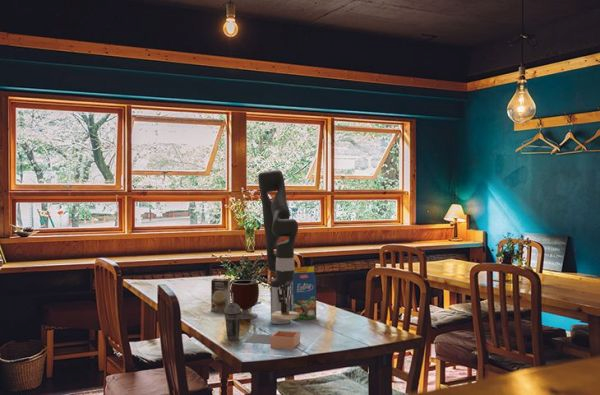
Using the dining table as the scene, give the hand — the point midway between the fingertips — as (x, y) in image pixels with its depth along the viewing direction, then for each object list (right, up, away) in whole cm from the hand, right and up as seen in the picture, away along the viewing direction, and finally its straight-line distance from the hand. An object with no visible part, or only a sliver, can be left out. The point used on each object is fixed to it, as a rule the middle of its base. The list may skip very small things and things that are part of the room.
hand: (285, 311), depth 239 cm
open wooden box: (0, -14, 0) cm, 14 cm away
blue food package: (+7, -13, +51) cm, 53 cm away
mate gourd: (-21, -13, +55) cm, 61 cm away
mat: (-9, -14, +10) cm, 19 cm away
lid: (0, -2, 0) cm, 2 cm away
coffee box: (-35, -13, +71) cm, 80 cm away
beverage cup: (-22, -14, +10) cm, 28 cm away
